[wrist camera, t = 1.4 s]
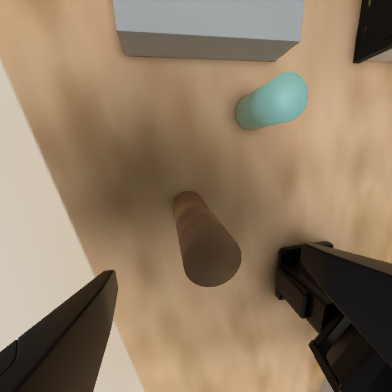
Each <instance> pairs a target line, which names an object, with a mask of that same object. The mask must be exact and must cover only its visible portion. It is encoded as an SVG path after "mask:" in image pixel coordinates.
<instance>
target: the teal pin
mask: <svg viewBox="0 0 392 392" xmlns="http://www.w3.org/2000/svg"><path fill="white" fill-rule="evenodd" d="M307 98H308V91H307V87H306V84H305V82H304V80H303V79H302V78H301V77H300V76H299V75H298V74H296V73H293V72H285V73H282V74H280V75H278V76H277V77H275V78H274V79H272V80H271V81H269V82H267V83H266V84H264V85H263V86H261V87H260V88H258V89H257V90H255V91H253V92H252V93H250V94H249V95H247V96H246V97H244V98H243V99H241V100H240V102H239V103H238V105H237V107H236V119H237V122H238V124H239V125H240V126H241V127H242V128H244V129H247V130H253V129H257V128H261V127H266V126H270V125H275V124H279V123H283V122H288V121H292V120H294V119H296V118H297V117H298V116H299V115H300V114H301V113H302V112H303V110H304V108H305V106H306V103H307Z"/></svg>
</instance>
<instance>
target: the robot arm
mask: <svg viewBox="0 0 392 392" xmlns="http://www.w3.org/2000/svg"><path fill="white" fill-rule="evenodd" d="M284 252H285V253H284ZM117 293H118V284H117V279H116V273H115V271H114V270H107V271H103V272H102V273H101V274H100V275H98V276H97V277H96V278H94V279H93V280H92V281H91V282H89V283H88V284H87V285H86V286H84V287H83V288H82V289H80V290H79V291H78V292H76V293H75V294H74V295H73V296H71V297H70V298H69V299H68V300H66V301H65V302H64V303H62V304H61V305H60V306H59V307H57V308H56V309H55V310H53V311H52V312H51V313H50V314H49V315H47V316H46V317H44V318H43V319H42V320H41V321H39V322H38V323H37V324H36V325H34V326H33V327H32V328H30V329H29V330H28V331H27V332H25V333H24V334H23V335H21V336H20V337H19V338H18V340H15V341H14V342H12V343H11V344H10V345H9V346H7V347H6V348H5V349H4V350H2V351H1V352H0V392H93V390H94V386H95V383H96V380H97V376H98V373H99V369H100V366H101V362H102V359H103V355H104V352H105V349H106V345H107V341H108V338H109V335H110V331H111V326H112V321H113V315H114V310H115V304H116V299H117ZM276 297H277V298H278V299H279V300H283V299H286V301H287V302H288V303H289V304H290V305H291V307H292V308H293V309H294V310H295V312H296V313H297V314H298V315H299V316H300V317H301V318H302V319H305V318H306V320H307V321H308V322H309V323H310V324H311V325H312V327H313V328H314V329H315V330H316V331H317V333H318V335H317V337H316V338H315V339H314V340H312V341H311V342H310V343H309V344H308V345H309V347H310V349H311V351H312V352H313V354H314V357H315V359H316V360H317V362H318V364H319V366H320V367H321V369H322V371H323V373H324V375H325V376H326V378H327V380H328V382H329V383H330V385H331V387H332V389H333V391H334V392H392V264H391V263H387V262H383V261H380V260H376V259H372V258H368V257H364V256H360V255H357V254H353V253H349V252H345V251H341V250H338V249H334V248H333V244H331V243H330V242H323V243H305V244H303V245H301V246H294V247H287V248H282V249H281V250H280V251H279V259H278V269H277V279H276Z"/></svg>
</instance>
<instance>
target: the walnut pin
mask: <svg viewBox="0 0 392 392" xmlns="http://www.w3.org/2000/svg"><path fill="white" fill-rule="evenodd" d="M173 211H174V217H175V222H176V227H177V233H178V238H179V244H180V249H181V254H182V260H183V265H184V270H185V273H186V275H187V277H188V278H189V279H190V280H191V281H192V282H193V283H195V284H197V285H199V286H203V287H214V286H218V285H221V284H223V283H225V282H227V281H228V280H230V279H231V278H232V277H233V276H234V275H235V274H236V272H237V271H238V269H239V266H240V264H241V250H240V248H239V246H238V244H237V243H236V242H235V240H234V239H233V238H232V237H231V235H230V234H229V233H228V232H227V230H226V229H225V228H224V227H223V225H222V224H221V223H220V222H219V220H218V219H217V218H216V217H215V215H214V214H213V213H212V212H211V210H210V209H209V208H208V207H207V205H206V204H205V203H204V202H203V200H202V199H201V198H200V197H199V195H198V194H196V193H194V192H191V191H185V192H182V193H180V194H179V195H177V196H176V198H175V199H174V202H173Z"/></svg>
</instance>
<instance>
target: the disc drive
mask: <svg viewBox="0 0 392 392" xmlns="http://www.w3.org/2000/svg"><path fill="white" fill-rule="evenodd" d="M378 42H379V43H378ZM363 61H387V62H392V0H362V5H361V12H360V19H359V25H358V32H357V39H356V46H355V53H354V60H353V63H361V62H363Z"/></svg>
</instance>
